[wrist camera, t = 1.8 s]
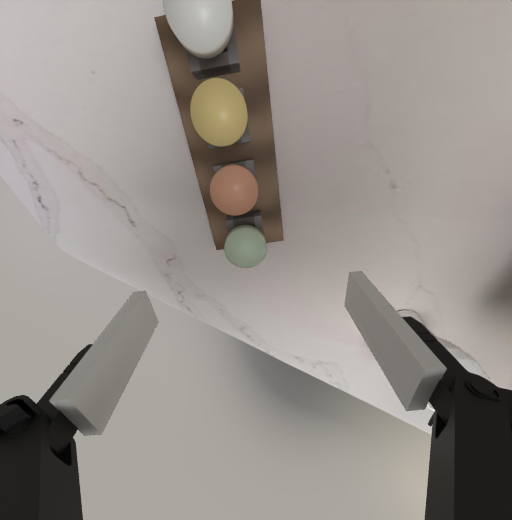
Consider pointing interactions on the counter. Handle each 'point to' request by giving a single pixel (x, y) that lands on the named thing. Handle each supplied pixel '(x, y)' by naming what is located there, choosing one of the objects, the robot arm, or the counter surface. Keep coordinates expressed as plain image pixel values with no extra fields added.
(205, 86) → the ochre button
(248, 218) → the panel
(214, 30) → the grey button
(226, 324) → the counter surface
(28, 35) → the counter surface
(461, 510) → the robot arm
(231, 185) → the terracotta button
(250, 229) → the sage button
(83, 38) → the counter surface
